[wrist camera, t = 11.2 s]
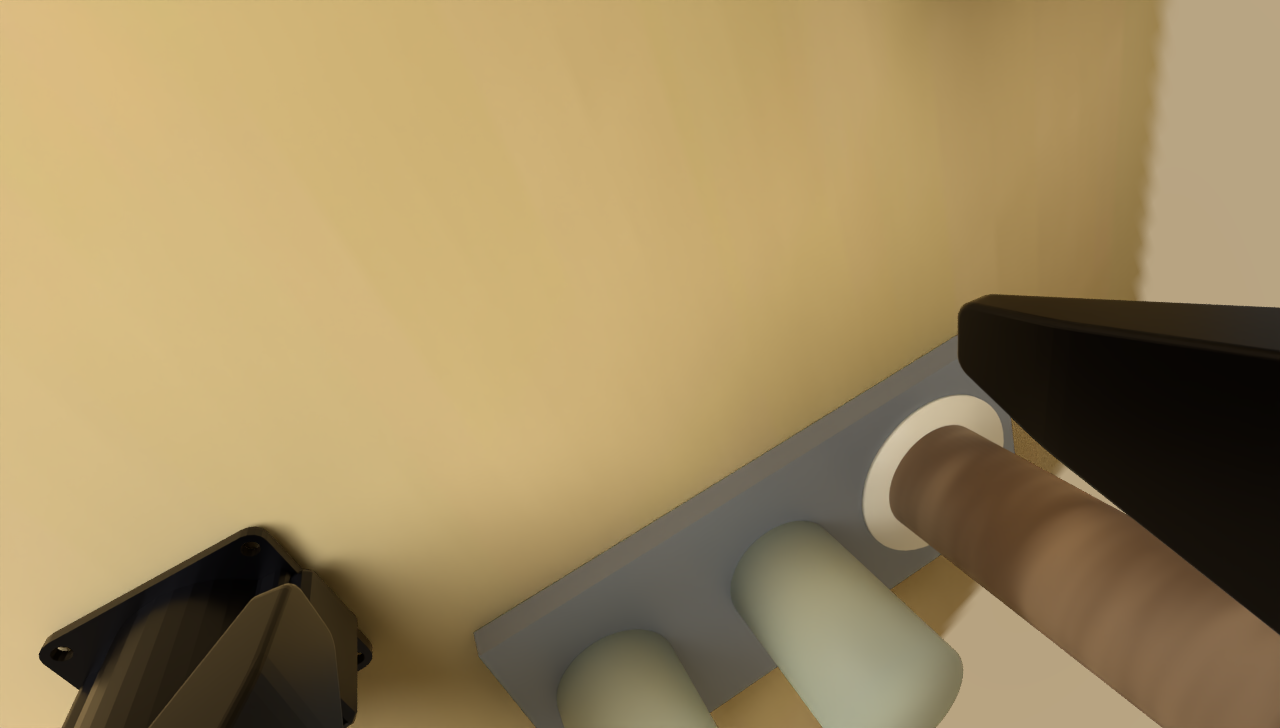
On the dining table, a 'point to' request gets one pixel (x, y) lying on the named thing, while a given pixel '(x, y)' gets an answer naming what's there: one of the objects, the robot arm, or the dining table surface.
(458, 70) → the dining table surface
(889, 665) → the sage posts
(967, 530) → the walnut post
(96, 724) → the robot arm
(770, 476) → the slate board
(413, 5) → the dining table surface
